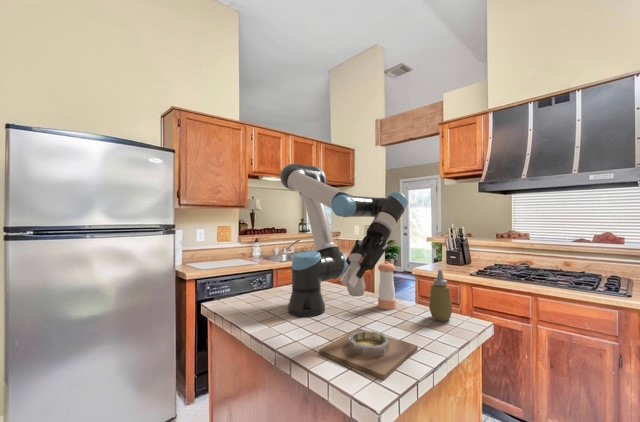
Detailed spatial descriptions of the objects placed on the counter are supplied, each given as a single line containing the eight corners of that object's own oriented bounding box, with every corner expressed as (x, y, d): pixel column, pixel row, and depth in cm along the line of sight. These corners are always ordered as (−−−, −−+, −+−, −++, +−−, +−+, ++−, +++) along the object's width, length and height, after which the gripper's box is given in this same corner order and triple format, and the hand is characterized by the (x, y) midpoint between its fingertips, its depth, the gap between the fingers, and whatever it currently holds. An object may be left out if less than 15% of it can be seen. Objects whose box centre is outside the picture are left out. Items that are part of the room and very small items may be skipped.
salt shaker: (365, 297, 88) (364, 254, 88) (346, 297, 89) (345, 254, 90) (365, 292, 94) (364, 252, 94) (348, 292, 95) (347, 252, 95)
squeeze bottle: (442, 324, 102) (441, 273, 102) (424, 317, 109) (423, 269, 109) (457, 320, 106) (457, 271, 106) (439, 313, 113) (438, 267, 113)
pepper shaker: (374, 306, 122) (374, 261, 122) (384, 303, 127) (384, 259, 127) (389, 311, 116) (388, 263, 117) (399, 307, 121) (398, 261, 122)
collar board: (319, 354, 80) (318, 340, 80) (358, 331, 95) (358, 320, 96) (384, 380, 67) (384, 364, 67) (417, 349, 83) (417, 336, 83)
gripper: (405, 236, 95) (372, 296, 84) (369, 235, 108) (336, 287, 97) (394, 220, 92) (359, 280, 81) (358, 221, 105) (323, 273, 94)
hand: (346, 284), depth 89 cm, fingers closed on salt shaker, 3 cm apart
